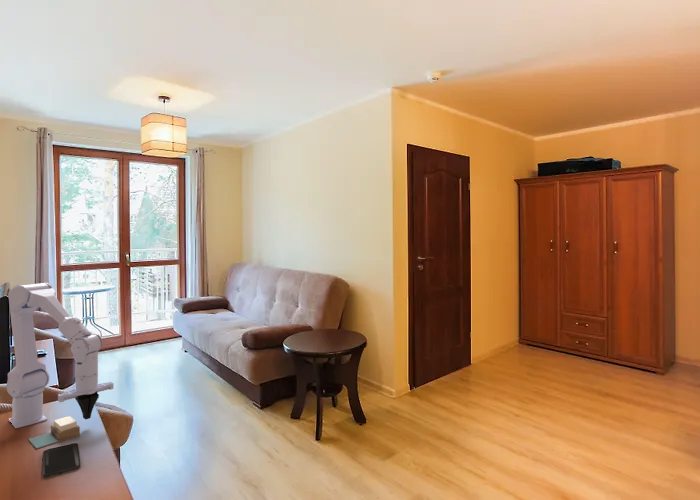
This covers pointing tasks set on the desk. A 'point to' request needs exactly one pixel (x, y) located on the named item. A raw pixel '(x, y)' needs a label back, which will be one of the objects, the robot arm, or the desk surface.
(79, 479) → the desk surface
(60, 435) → the block
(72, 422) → the cream rectangular block
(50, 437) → the mat
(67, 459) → the phone
